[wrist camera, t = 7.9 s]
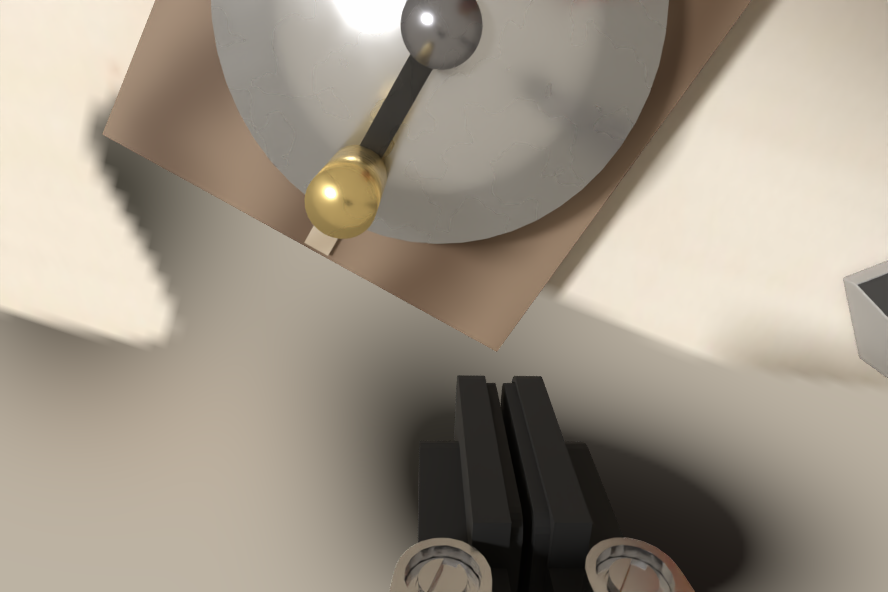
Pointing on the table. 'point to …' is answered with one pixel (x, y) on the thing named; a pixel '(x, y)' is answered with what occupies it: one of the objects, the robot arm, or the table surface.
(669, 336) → the table surface
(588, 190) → the base board
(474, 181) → the dial
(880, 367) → the vintage mobile phone
